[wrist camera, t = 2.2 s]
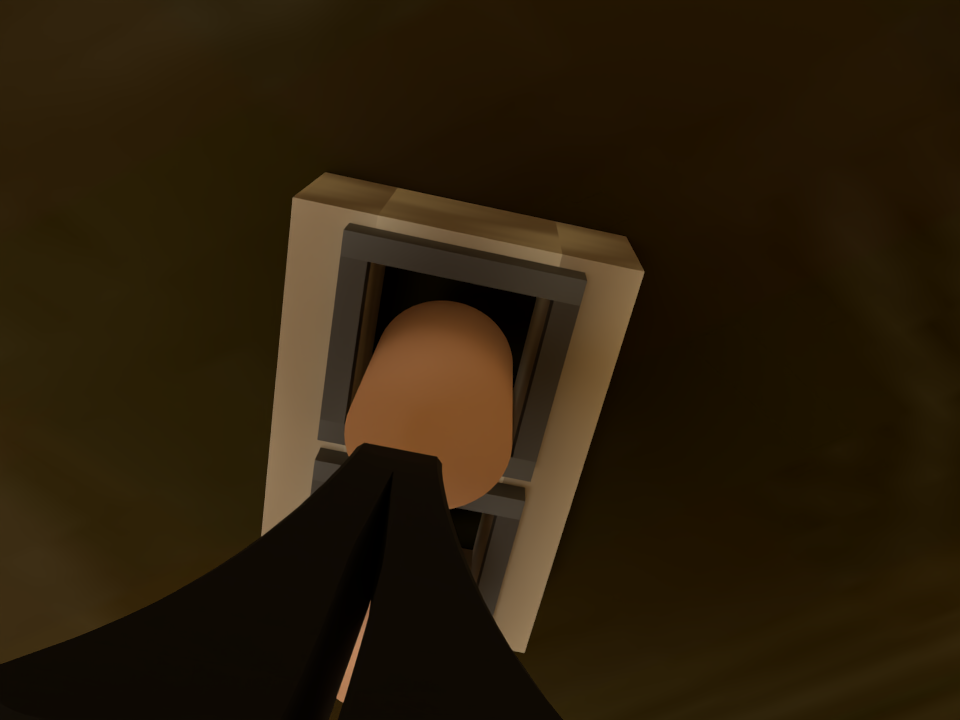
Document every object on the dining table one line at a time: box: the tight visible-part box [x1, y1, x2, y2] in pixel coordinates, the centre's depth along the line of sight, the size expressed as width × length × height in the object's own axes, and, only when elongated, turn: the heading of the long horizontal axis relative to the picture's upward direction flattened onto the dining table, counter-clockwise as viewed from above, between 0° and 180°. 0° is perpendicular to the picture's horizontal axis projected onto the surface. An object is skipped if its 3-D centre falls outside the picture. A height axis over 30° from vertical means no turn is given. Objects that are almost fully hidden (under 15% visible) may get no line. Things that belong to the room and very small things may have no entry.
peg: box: [344, 301, 513, 509], centre depth 15 cm, size 3×3×3 cm
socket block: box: [261, 172, 644, 653], centre depth 20 cm, size 8×12×4 cm, turn 169°
